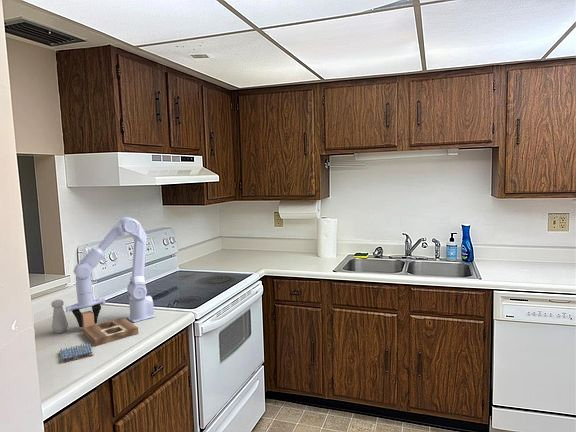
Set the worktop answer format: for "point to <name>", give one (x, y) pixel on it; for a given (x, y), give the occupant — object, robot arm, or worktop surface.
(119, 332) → the wooden peg board
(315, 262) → the worktop surface
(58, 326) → the salt shaker
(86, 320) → the pin
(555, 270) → the worktop surface
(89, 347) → the woven mat
